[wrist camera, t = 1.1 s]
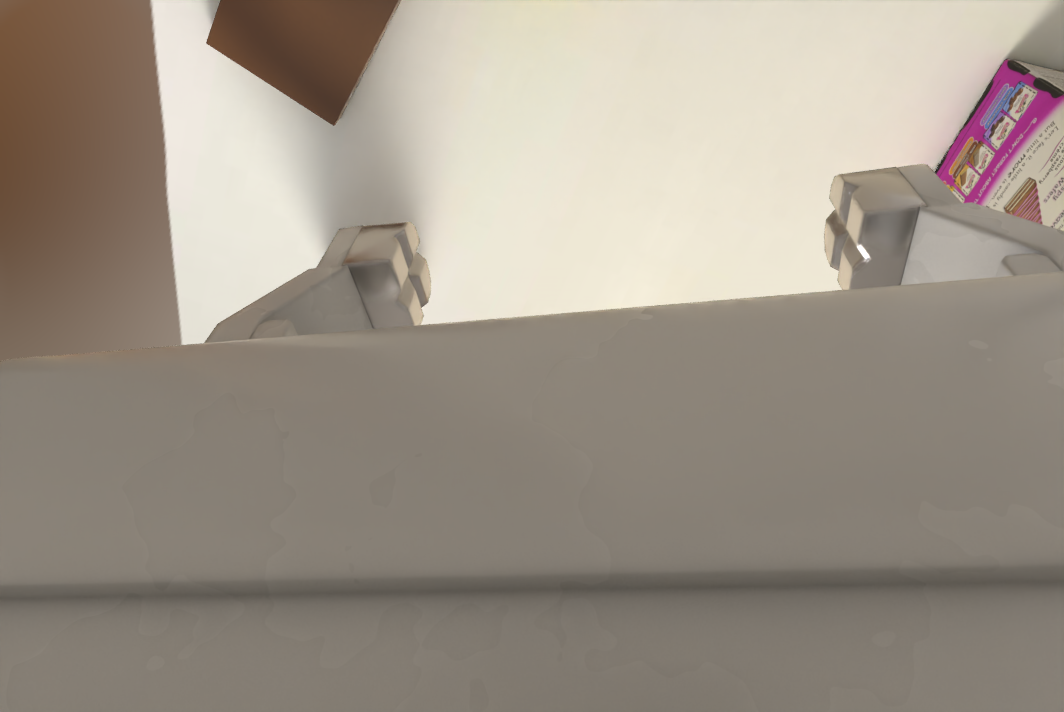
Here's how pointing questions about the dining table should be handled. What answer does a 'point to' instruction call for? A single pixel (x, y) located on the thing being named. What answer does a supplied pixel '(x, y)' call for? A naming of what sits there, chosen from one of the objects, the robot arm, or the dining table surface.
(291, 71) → the serving board
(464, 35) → the dining table surface
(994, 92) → the candy bar box
